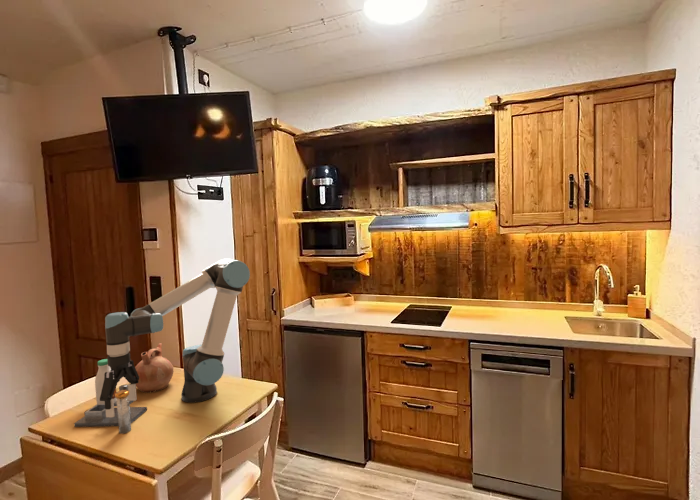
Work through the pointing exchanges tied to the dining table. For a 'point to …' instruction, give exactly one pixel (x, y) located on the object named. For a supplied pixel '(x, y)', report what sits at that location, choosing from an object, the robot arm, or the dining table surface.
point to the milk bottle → (102, 380)
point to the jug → (153, 371)
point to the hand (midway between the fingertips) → (122, 408)
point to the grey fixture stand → (98, 415)
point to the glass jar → (123, 411)
